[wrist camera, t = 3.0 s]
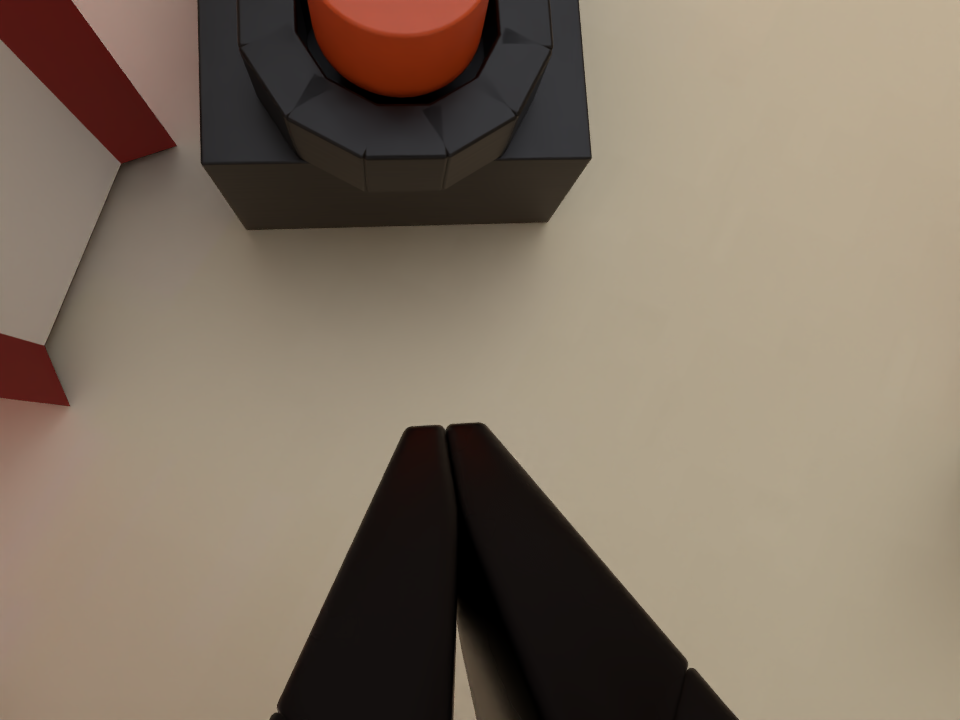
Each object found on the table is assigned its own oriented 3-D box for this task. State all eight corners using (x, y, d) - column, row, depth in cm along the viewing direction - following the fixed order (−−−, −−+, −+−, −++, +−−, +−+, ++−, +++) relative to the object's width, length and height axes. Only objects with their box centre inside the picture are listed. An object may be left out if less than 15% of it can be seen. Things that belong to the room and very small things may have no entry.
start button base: (549, 246, 22) (621, 155, 15) (246, 255, 21) (173, 161, 14) (525, -79, 23) (581, -301, 16) (237, -87, 22) (165, -330, 15)
